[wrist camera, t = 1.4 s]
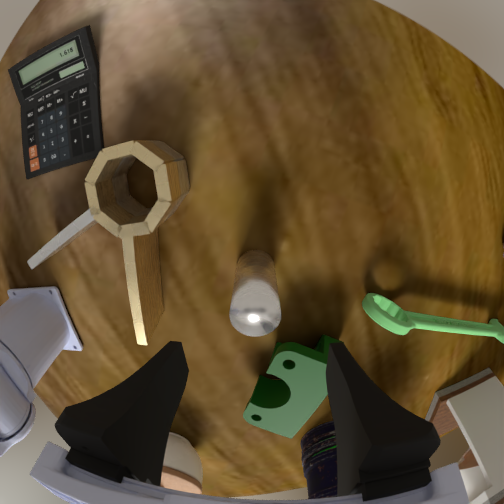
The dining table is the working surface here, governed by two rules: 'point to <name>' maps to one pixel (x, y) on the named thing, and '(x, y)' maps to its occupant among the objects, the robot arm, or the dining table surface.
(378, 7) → the dining table surface
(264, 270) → the hinge pin
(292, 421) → the clamp
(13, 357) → the robot arm
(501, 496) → the grey boxy piece
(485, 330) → the wrench
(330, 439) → the storage jar
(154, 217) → the tan ring with arms
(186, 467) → the lidded jar
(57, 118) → the calculator
